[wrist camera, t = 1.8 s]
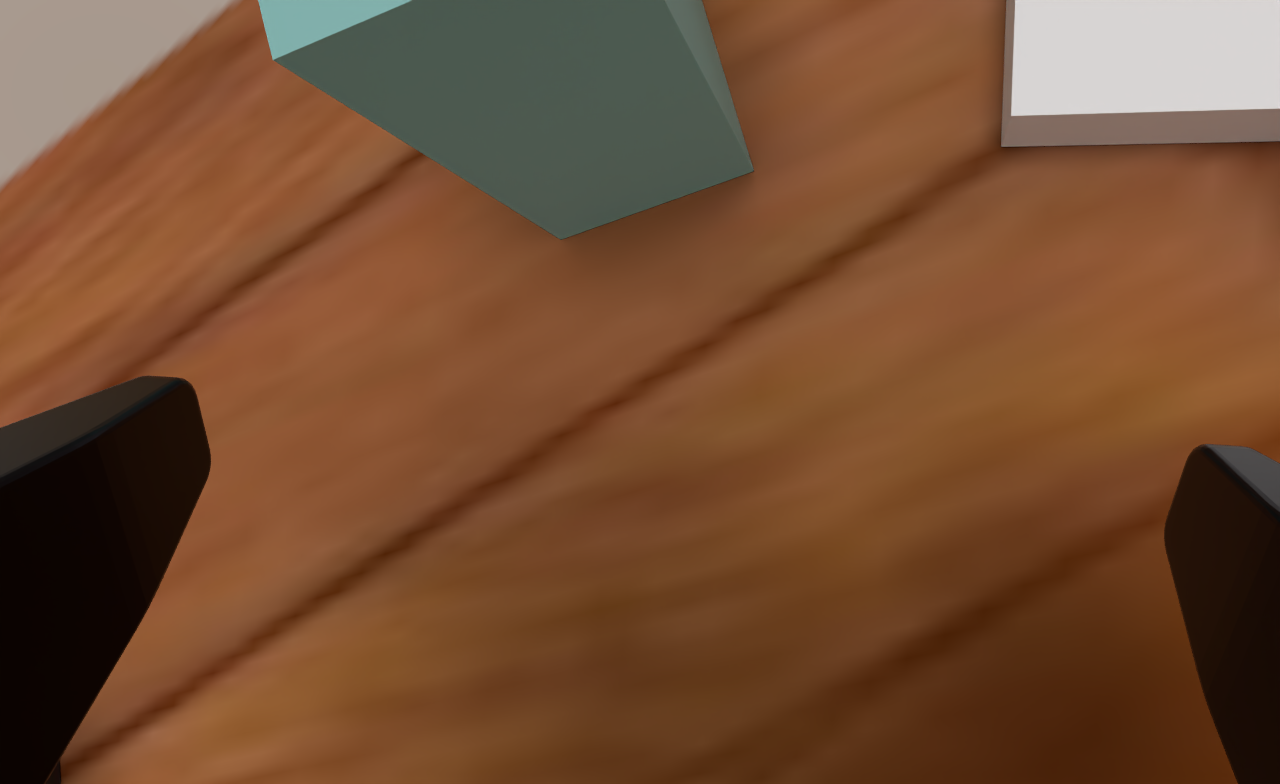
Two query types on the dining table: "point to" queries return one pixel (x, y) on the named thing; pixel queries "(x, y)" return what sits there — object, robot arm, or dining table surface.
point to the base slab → (1140, 72)
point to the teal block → (532, 95)
